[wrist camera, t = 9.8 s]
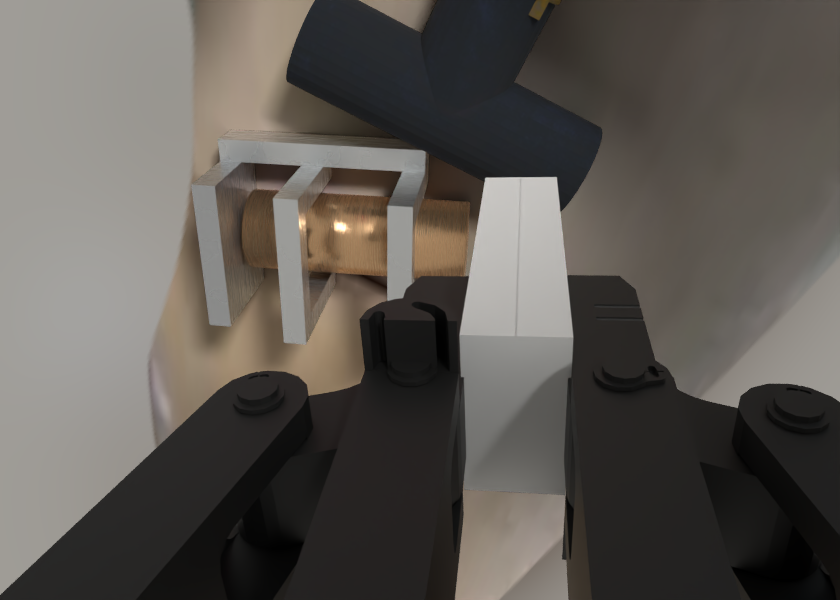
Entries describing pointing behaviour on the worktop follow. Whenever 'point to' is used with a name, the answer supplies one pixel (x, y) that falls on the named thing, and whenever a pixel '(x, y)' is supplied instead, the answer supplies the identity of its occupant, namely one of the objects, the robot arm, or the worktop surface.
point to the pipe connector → (447, 85)
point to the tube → (360, 234)
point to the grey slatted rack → (297, 219)
